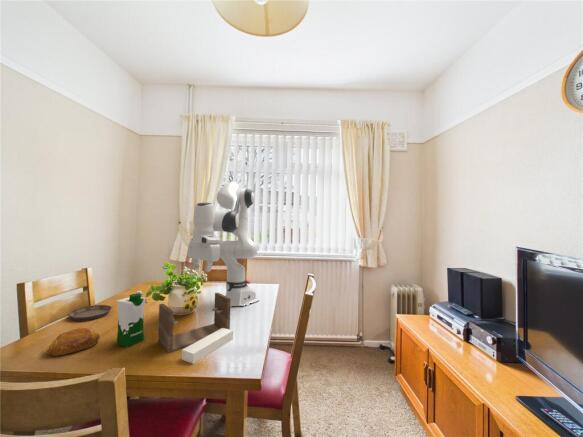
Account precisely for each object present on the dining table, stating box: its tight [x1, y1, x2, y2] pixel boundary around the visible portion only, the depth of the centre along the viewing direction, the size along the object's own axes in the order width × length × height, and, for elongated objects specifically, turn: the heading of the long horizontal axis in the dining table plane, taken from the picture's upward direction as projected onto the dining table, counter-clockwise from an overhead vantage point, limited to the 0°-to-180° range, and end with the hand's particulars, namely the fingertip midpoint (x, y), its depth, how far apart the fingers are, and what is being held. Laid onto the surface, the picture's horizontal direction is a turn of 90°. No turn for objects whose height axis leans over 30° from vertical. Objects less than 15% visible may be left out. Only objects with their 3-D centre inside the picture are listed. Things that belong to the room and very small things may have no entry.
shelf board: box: [181, 328, 234, 365], centre depth 103 cm, size 22×6×4 cm, turn 154°
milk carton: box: [116, 293, 147, 348], centre depth 107 cm, size 9×9×20 cm
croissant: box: [47, 327, 101, 357], centre depth 102 cm, size 14×16×8 cm
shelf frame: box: [157, 292, 231, 354], centre depth 112 cm, size 27×12×16 cm, turn 135°
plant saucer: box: [68, 304, 112, 322], centre depth 134 cm, size 18×18×3 cm
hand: (201, 269), depth 112 cm, fingers open, 8 cm apart
